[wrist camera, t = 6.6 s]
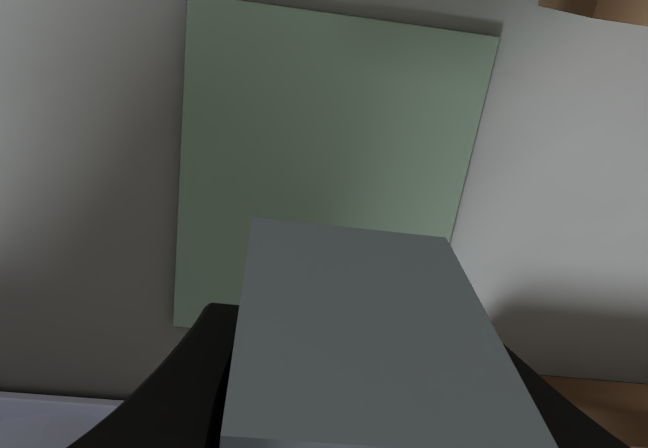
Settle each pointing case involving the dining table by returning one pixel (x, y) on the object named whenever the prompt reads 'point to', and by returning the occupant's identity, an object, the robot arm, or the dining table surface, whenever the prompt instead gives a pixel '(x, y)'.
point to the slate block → (368, 347)
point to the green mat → (316, 131)
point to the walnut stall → (595, 395)
